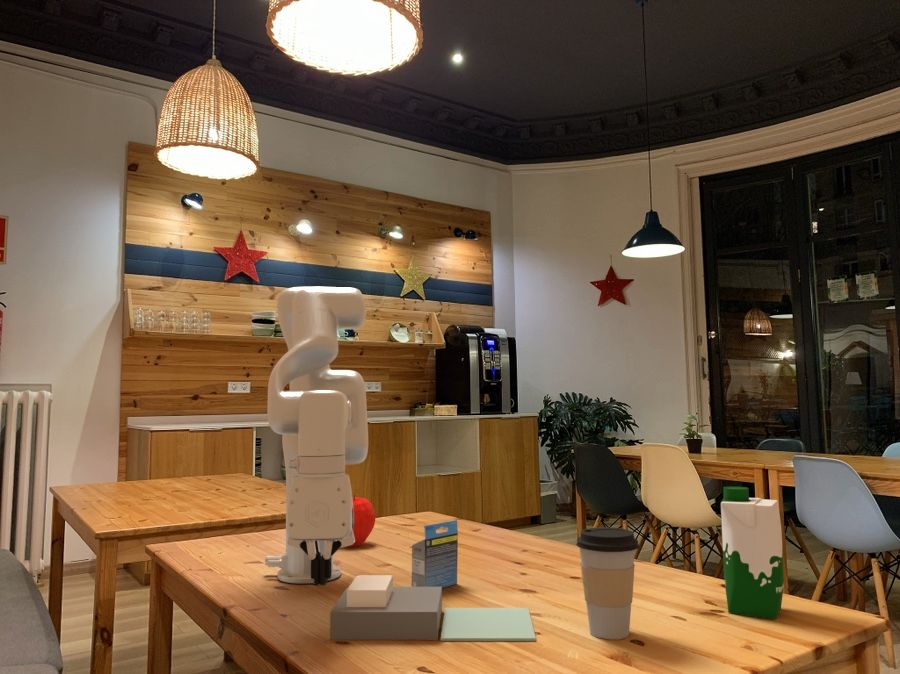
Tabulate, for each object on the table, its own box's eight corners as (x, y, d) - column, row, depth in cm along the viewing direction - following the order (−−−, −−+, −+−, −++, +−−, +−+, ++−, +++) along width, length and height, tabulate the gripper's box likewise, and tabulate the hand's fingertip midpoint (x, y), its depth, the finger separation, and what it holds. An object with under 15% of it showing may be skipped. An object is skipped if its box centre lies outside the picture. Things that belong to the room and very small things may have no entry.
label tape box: (444, 580, 136) (443, 517, 137) (459, 584, 134) (458, 519, 135) (410, 590, 130) (410, 523, 131) (425, 594, 127) (425, 525, 128)
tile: (346, 607, 106) (346, 590, 106) (356, 590, 115) (356, 575, 115) (385, 607, 106) (385, 590, 106) (392, 590, 115) (392, 575, 115)
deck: (330, 639, 103) (330, 612, 104) (347, 611, 117) (347, 586, 118) (437, 639, 103) (437, 611, 103) (441, 611, 117) (441, 586, 117)
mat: (440, 640, 102) (440, 638, 102) (445, 610, 117) (445, 607, 117) (535, 641, 102) (535, 638, 102) (528, 610, 117) (528, 607, 117)
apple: (383, 543, 172) (383, 493, 173) (357, 551, 164) (357, 498, 165) (352, 539, 177) (352, 491, 178) (325, 547, 169) (326, 496, 170)
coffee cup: (571, 624, 109) (569, 527, 111) (629, 622, 110) (626, 525, 111) (588, 645, 100) (585, 539, 101) (652, 642, 101) (648, 537, 102)
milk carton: (731, 600, 121) (726, 484, 123) (788, 608, 116) (782, 487, 118) (721, 613, 114) (715, 489, 115) (782, 622, 109) (775, 493, 111)
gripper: (269, 469, 109) (267, 589, 107) (363, 467, 109) (364, 589, 107) (282, 465, 117) (281, 578, 115) (370, 464, 116) (371, 577, 114)
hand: (321, 583), depth 111 cm, fingers closed
